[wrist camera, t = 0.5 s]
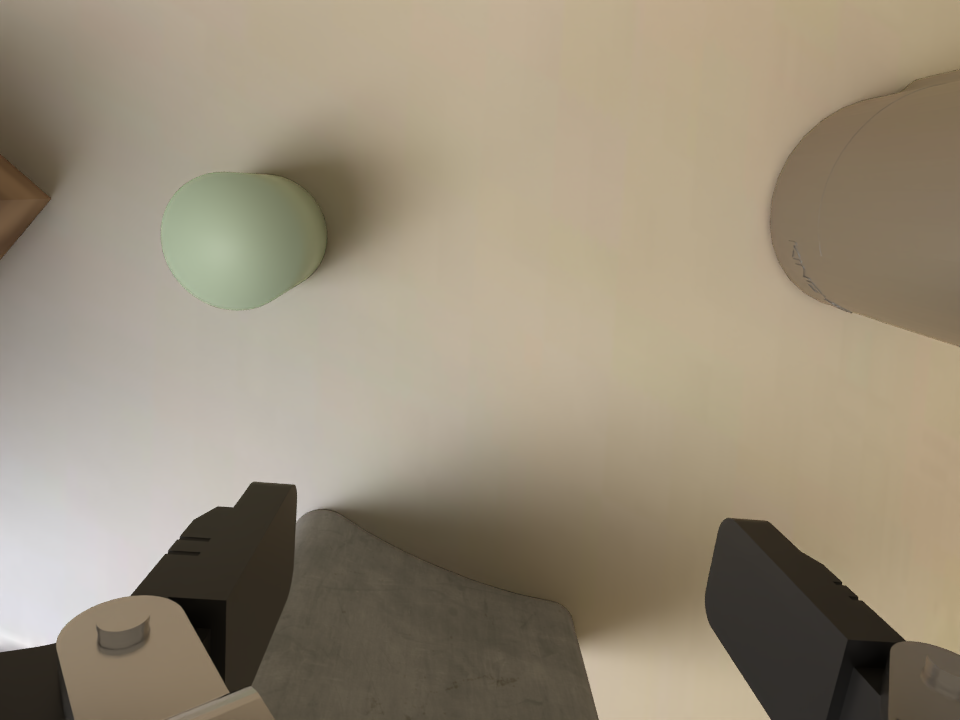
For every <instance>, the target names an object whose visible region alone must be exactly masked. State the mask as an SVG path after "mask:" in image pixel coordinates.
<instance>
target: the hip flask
mask: <svg viewBox="0 0 960 720" xmlns="http://www.w3.org/2000/svg"><path fill="white" fill-rule="evenodd" d="M251 687H253V688H254V689H255V690H256V691H257V692H258V693H259V695H260V696H261V698H262V699H263V701H264V703H265V704H266V706H267V708H268V709H269V711H270V712H271V714H272V716H273V717H274V719H275V720H599V719H598V715H597V711H596V707H595V704H594V700H593V696H592V692H591V688H590V685H589V681H588V677H587V673H586V670H585V666H584V662H583V658H582V654H581V651H580V647H579V643H578V639H577V635H576V632H575V628H574V624H573V620H572V617H571V615H570V613H569V611H568V610H567V609H566V608H565V607H563V606H562V605H560V604H558V603H556V602H552V601H547V600H542V599H537V598H532V597H528V596H524V595H520V594H516V593H512V592H509V591H505V590H501V589H498V588H495V587H492V586H489V585H485V584H482V583H479V582H476V581H474V580H471V579H468V578H465V577H463V576H460V575H458V574H455V573H453V572H450V571H448V570H445V569H443V568H440V567H438V566H435V565H433V564H431V563H428V562H426V561H424V560H421V559H419V558H417V557H415V556H413V555H410V554H408V553H406V552H404V551H402V550H400V549H398V548H396V547H394V546H392V545H390V544H389V543H387V542H385V541H383V540H381V539H379V538H377V537H376V536H374V535H372V534H370V533H369V532H367V531H365V530H364V529H362V528H361V527H359V526H357V525H356V524H354V523H353V522H351V521H350V520H348V519H347V518H345V517H343V516H342V515H340V514H338V513H336V512H333V511H330V510H315V511H311V512H309V513H306V514H305V515H303V516H302V517H301V518H300V519H299V520H298V521H297V522H296V532H295V554H294V569H293V577H292V583H291V587H290V592H289V595H288V599H287V601H286V604H285V606H284V608H283V611H282V613H281V616H280V618H279V621H278V623H277V625H276V628H275V630H274V633H273V635H272V637H271V640H270V642H269V645H268V647H267V650H266V652H265V654H264V657H263V659H262V662H261V664H260V666H259V669H258V671H257V674H256V676H255V678H254V681H253V683H252V686H251Z"/></svg>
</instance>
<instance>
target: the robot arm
mask: <svg viewBox="0 0 960 720" xmlns="http://www.w3.org/2000/svg"><path fill="white" fill-rule="evenodd" d="M770 229H771V238H772V244H773V247H774V250H775V253H776V256H777V259H778V261H779V264H780V265H781V267H782V268H783V270H784V271H785V273H786V274H787V276H788V277H789V279H790V280H791V281H792V282H793V283H794V284H795V285H796V286H797V287H798V288H799V289H801V290H802V291H803V292H804V293H806V294H807V295H809V296H811V297H813V298H814V299H816V300H818V301H820V302H823V303H826V304H829V305H832V306H835V307H837V308H839V309H842V310H844V311H846V312H850V313H856V314H859V315H863V316H866V317H869V318H872V319H875V320H878V321H881V322H883V323H886V324H890V325H893V326H896V327H899V328H902V329H905V330H908V331H911V332H915V333H918V334H921V335H924V336H927V337H930V338H933V339H936V340H940V341H943V342H946V343H949V344H952V345H955V346H958V347H960V70H955V71H951V72H947V73H942V74H938V75H934V76H929V77H925V78H921V79H917V80H915V81H913V82H912V83H911V84H910V85H909V86H907V87H906V88H905V89H904V90H903V91H901V92H900V93H896V94H891V95H886V96H882V97H877V98H872V99H867V100H864V101H861V102H858V103H855V104H852V105H850V106H847V107H844V108H842V109H840V110H839V111H837V112H835V113H834V114H832V115H830V116H829V117H827V118H825V119H824V120H822V121H821V122H820V123H819V124H818V125H817V126H815V127H814V128H813V129H812V130H811V131H810V132H809V133H808V134H807V135H806V136H804V138H803V139H802V140H801V141H800V143H799V144H798V145H797V147H796V148H795V149H794V151H793V152H792V153H791V154H790V156H789V157H788V159H787V161H786V163H785V165H784V167H783V169H782V171H781V173H780V175H779V177H778V180H777V184H776V187H775V190H774V194H773V197H772V202H771V213H770ZM296 509H297V490H296V486H295V485H291V484H277V483H264V482H252V483H251V484H250V486H249V487H248V488H247V490H246V491H245V492H244V494H243V495H242V497H241V498H240V499H239V501H238V502H237V503H236V505H235V506H234V507H233V508H232V507H216V508H214V509H212V510H211V511H209V512H207V513H205V514H203V515H202V516H200V517H198V518H196V519H194V520H193V521H192V523H191V524H190V525H189V526H188V527H187V529H186V530H185V531H184V532H183V533H182V535H181V536H180V539H179V540H177V541H176V542H175V543H174V544H173V545H172V547H171V548H170V549H169V550H168V554H165V555H164V556H163V557H162V559H161V560H160V561H159V562H158V563H157V565H156V566H155V567H154V568H153V569H152V571H151V572H150V573H149V574H148V575H147V577H146V578H145V579H144V580H143V581H142V583H141V584H140V585H139V586H138V587H137V589H136V590H135V591H134V592H133V593H132V595H131V596H129V597H122V598H118V599H114V600H110V601H107V602H104V603H101V604H99V605H96V606H94V607H91V608H90V609H88V610H86V611H84V612H82V613H81V614H79V615H78V616H76V617H74V618H73V619H72V620H71V621H70V622H69V623H67V624H66V626H65V627H64V628H63V629H62V630H61V632H60V634H59V636H58V638H57V642H56V643H54V644H50V645H45V646H40V647H34V648H27V649H20V650H13V651H7V652H0V720H275V719H274V717H273V716H272V714H271V712H270V711H269V709H268V708H267V706H266V704H265V703H264V701H263V699H262V698H261V696H260V695H259V693H258V692H257V691H256V690H255V689H254V688H253V687H251V686H252V683H253V681H254V678H255V676H256V674H257V671H258V669H259V666H260V664H261V662H262V659H263V657H264V654H265V652H266V650H267V647H268V645H269V642H270V640H271V637H272V635H273V633H274V630H275V628H276V625H277V623H278V621H279V618H280V616H281V613H282V611H283V608H284V606H285V604H286V601H287V599H288V595H289V592H290V587H291V583H292V577H293V569H294V554H295V532H296ZM705 608H706V614H707V618H708V621H709V624H710V626H711V628H712V629H713V631H714V632H715V634H716V635H717V637H718V638H719V640H720V642H721V643H722V645H723V646H724V648H725V649H726V651H727V652H728V654H729V655H730V657H731V659H732V660H733V662H734V663H735V665H736V666H737V668H738V669H739V671H740V672H741V674H742V675H743V677H744V679H745V680H746V682H747V683H748V685H749V686H750V688H751V689H752V691H753V692H754V694H755V696H756V697H757V699H758V700H759V702H760V703H761V705H762V706H763V708H764V709H765V711H766V712H767V714H768V716H769V717H770V719H771V720H960V655H958V654H956V653H954V652H951V651H949V650H947V649H944V648H941V647H938V646H934V645H931V644H927V643H921V642H913V641H906V640H904V639H903V638H902V637H901V636H900V635H899V634H898V633H897V632H896V631H895V630H894V629H892V628H891V627H890V626H889V625H888V624H887V623H886V622H885V621H884V620H883V619H882V618H881V617H879V616H878V615H877V614H876V613H875V612H874V611H873V610H872V609H871V608H870V607H869V606H867V605H866V604H865V603H864V602H863V601H860V600H858V596H857V595H855V594H854V593H853V592H852V591H851V590H850V589H849V588H848V587H847V586H844V585H842V582H841V581H840V580H839V579H838V578H837V577H836V576H835V575H834V574H833V573H832V572H830V571H829V570H828V569H827V568H826V567H825V566H824V565H823V564H821V563H819V562H818V561H816V560H814V559H813V558H811V557H809V556H808V555H806V554H804V553H802V552H801V551H800V550H799V549H797V548H796V547H795V546H794V545H793V544H792V543H791V542H790V541H789V540H788V539H787V538H786V537H785V536H784V535H783V534H782V533H780V532H779V531H778V530H777V529H776V528H775V527H774V526H773V525H772V524H771V523H769V522H768V521H761V520H748V519H735V518H726V519H725V520H723V522H722V523H721V525H720V527H719V530H718V534H717V539H716V544H715V549H714V553H713V558H712V563H711V568H710V573H709V577H708V582H707V587H706V593H705Z"/></svg>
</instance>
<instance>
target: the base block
mask: <svg viewBox="0 0 960 720" xmlns="http://www.w3.org/2000/svg"><path fill="white" fill-rule="evenodd" d="M50 200H51V198H50V197H49V196H48V195H47V194H45V193H44V192H43V191H42V190H41V189H40V188H38V187H37V186H36V185H35V184H34V183H33V182H32V181H30V180H29V179H28V178H27V177H26V176H25V175H24V174H22V173H21V172H20V171H19V170H18V169H17V168H16V167H14V166H13V165H12V164H11V163H10V162H9V161H8V160H6V159H5V158H4V157H3V156H2V155H1V154H0V260H1V258H2V257H3V256H4V255H5V254H6V252H7V251H8V250H9V249H10V248H11V246H12V245H13V244H14V243H15V242H16V240H17V239H18V238H19V237H20V236H21V234H22V233H23V232H24V231H25V230H26V228H27V227H28V226H29V225H30V224H31V222H32V221H33V220H34V219H35V218H36V216H37V215H38V214H39V213H40V212H41V210H42V209H43V208H44V207H45V206H46V204H47V203H48V202H49V201H50Z"/></svg>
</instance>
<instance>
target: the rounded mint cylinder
mask: <svg viewBox="0 0 960 720" xmlns="http://www.w3.org/2000/svg"><path fill="white" fill-rule="evenodd" d="M161 244H162V249H163V253H164V257H165V260H166V262H167V264H168V266H169V268H170V270H171V272H172V273H173V275H174V277H175V278H176V279H177V280H178V282H179V283H180V284H181V285H182V286H183V287H184V288H185V289H186V290H187V291H188V292H189V293H191V294H192V295H193V296H194V297H196V298H198V299H199V300H201V301H203V302H205V303H207V304H209V305H211V306H214V307H217V308H221V309H226V310H237V311H238V310H249V309H254V308H257V307H260V306H263V305H265V304H267V303H269V302H271V301H272V300H274V299H276V298H277V297H279V296H280V295H282V294H284V293H285V292H287V291H288V290H290V289H292V288H293V287H295V286H296V285H298V284H299V283H301V282H303V281H304V280H306V279H307V278H308V277H309V276H310V275H312V274H313V273H314V271H315V270H316V269H317V268H318V266H319V264H320V263H321V261H322V259H323V256H324V253H325V250H326V245H327V229H326V223H325V219H324V217H323V214H322V211H321V210H320V208H319V206H318V204H317V203H316V201H315V200H314V198H313V197H312V196H311V195H310V194H309V193H308V192H307V191H306V190H305V189H304V188H302V187H301V186H300V185H298V184H297V183H295V182H293V181H291V180H289V179H287V178H284V177H281V176H276V175H269V174H252V173H235V172H214V173H209V174H205V175H202V176H199V177H196V178H195V179H193V180H191V181H189V182H188V183H186V184H185V185H183V186H182V187H181V188H180V189H179V190H178V191H177V192H176V193H175V194H174V196H173V197H172V198H171V200H170V201H169V203H168V205H167V207H166V210H165V212H164V215H163V219H162V224H161Z"/></svg>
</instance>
